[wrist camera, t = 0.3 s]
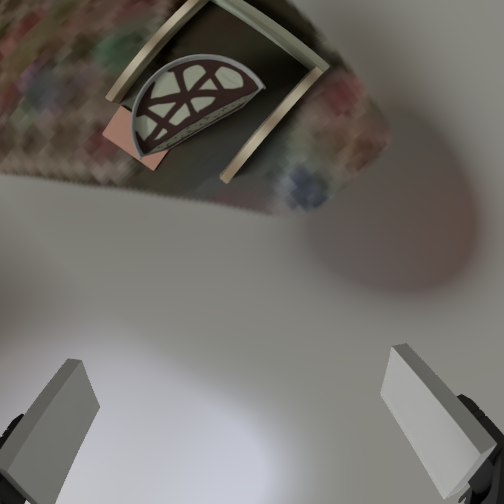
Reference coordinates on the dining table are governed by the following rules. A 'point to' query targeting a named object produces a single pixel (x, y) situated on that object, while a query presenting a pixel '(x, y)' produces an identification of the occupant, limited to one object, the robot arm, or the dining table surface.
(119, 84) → the beige u-shaped frame
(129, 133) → the mat
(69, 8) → the dining table surface
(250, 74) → the food container
